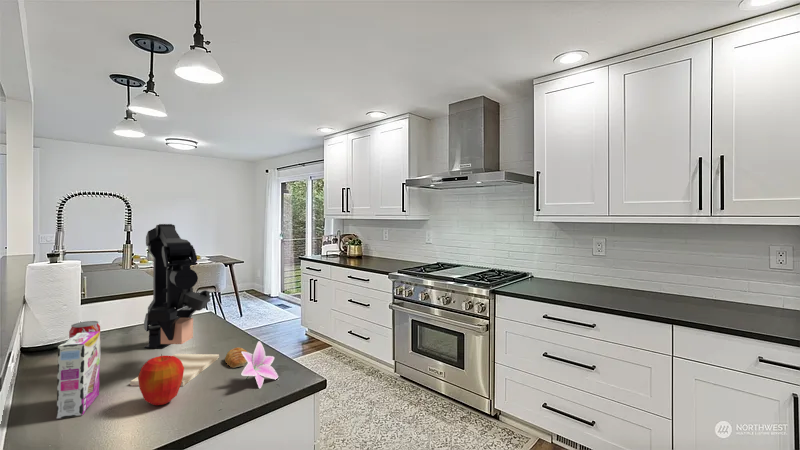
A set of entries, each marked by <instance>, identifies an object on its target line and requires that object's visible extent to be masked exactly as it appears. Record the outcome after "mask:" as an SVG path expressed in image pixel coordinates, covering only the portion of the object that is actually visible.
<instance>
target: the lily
mask: <svg viewBox="0 0 800 450" xmlns="http://www.w3.org/2000/svg"><path fill="white" fill-rule="evenodd" d="M241 353H242V354H243V356H244V358H245V359H246V360H247V363H246V364H245V366H244V368H243V369H242V371H241V376H243V377H246V379H247V380H248V379H249V377H254V378H255V380H256V384H257V387H258V389H262V387H263V384H264V380H265V378H268V379H272V380H276V379H277V378H278V377H279V374H278V373H277V370H275V368H274V367H273V366H271V365H272V364H273V362H274V361H275V356H273V355H266V351H265V348H264V346H263V343H262V342H261V341H260V340H259V341H257V343H256V346H255V349H254V351H253V353H251V352H249V351H247V352H244V351H242V352H241ZM246 379H245V380H246ZM276 381H277V380H276Z"/></svg>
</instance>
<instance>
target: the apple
mask: <svg viewBox="0 0 800 450" xmlns="http://www.w3.org/2000/svg"><path fill="white" fill-rule="evenodd" d="M183 373H184V367H183V364H182V362H181V360H180V359H178V358H177V357H175V356H173V355H163V354H162V353H161V355H160V356H156V357H151V358H150V359H148V360H147V361H146V362H145V363H144V364H142V367H141V369H140V371H139V373H138V376H137V377H138V381H139V386H138V387H139V390H140V392H141V395H142V397H143V399H144V401H145V402H146V403H148V404H151V405H153V406H164V405H167V404H168V403H170V402H171V401H172V400H174V399H175V398H176V397H177V395H178V393H179V392H180V391H179V390H180V388H181V386H180V385H181V383H182V379H183Z"/></svg>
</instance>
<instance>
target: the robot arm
mask: <svg viewBox="0 0 800 450" xmlns="http://www.w3.org/2000/svg"><path fill="white" fill-rule="evenodd" d="M145 246H146V247H147V252H149V254H150V255H151V256H152V258H153V268H152V269H153V271H152V272H153V275H152V277H153V278H152V279H153V282H152V283H153V286H152V287H153V290H152V291H153V295H152V296H153V299H152V301H151V302H150V304H149V305H148V307H147V313H145V317H144V320H143V321H144V322H143V326H144V327H143V328H144V330H145V331H146V332H149V333H148V344H147V345H144V349H164V348H166V347H168V346H170V345H171V344H161V328H162V330H163V332H164V333H165V335H166V337H167V338H168V340H173V338H174V331H175V323H176V321H177V320H178V319H179V318H192V316H193V314H195V312H197V311H202V310H203V309H206V308H207V305H208V304H209V303H210V302H211V295H210V294H211V293H210V291H209V290H206V289H205V290H202V291H201V292H199V291H198V292H194V288H193V287H195V285H196V284H197V282H198V279H199V278H198V275H197V272H196V271H195V270H193V269H191V266H196V265H197V261H198V257H197V253H196V250H195V247H194V245H192V243H191V242H190V241H188V240H187V239H184V238H181V237H180V235H179V234H178V232H177V230H176V225H175V224H172V223H159V224H156V226H155V227H154V228H152V229H149V230H148V231H147V233H146V235H145Z"/></svg>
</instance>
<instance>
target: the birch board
mask: <svg viewBox="0 0 800 450" xmlns="http://www.w3.org/2000/svg"><path fill="white" fill-rule="evenodd" d="M172 356H175V357H177V358H178V359H180V360H181V362H182V364H183V367H184V373H183V379H182V383H181V385H180V387H184V386H185V385H187V384H188V383H189V382H190V381H192V380H193V379H194V378H196V377H197V376H198V375H199V374H201V373H202V372H203V371H204V370H206V369H207V368H208V367H210V366H211V365H212V364H214V363H215V362H216V361H217V360H218V358H219V359H220V354H213V353H212V354H209V353H206V354H204V353H202V354H201V353H199V354H198V353H175V354H173V355H172ZM129 382H130V383H129V385H130V387H131V386H133V387H134V386H135V387H139V381H138V376H136V377H135V378H134V379H132V380H130V381H129Z"/></svg>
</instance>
